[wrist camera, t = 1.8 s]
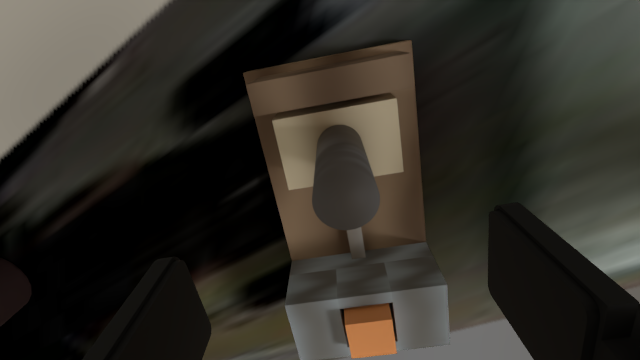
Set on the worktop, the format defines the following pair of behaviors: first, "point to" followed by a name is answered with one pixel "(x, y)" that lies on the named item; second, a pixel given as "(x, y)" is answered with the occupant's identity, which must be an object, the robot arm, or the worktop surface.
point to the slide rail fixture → (369, 240)
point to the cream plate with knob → (341, 155)
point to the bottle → (12, 290)
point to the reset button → (370, 330)
